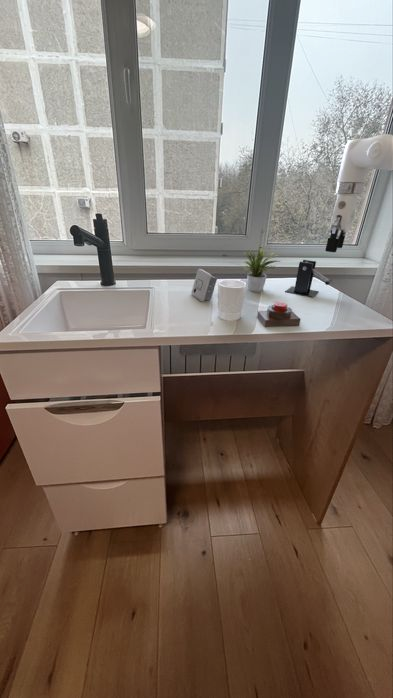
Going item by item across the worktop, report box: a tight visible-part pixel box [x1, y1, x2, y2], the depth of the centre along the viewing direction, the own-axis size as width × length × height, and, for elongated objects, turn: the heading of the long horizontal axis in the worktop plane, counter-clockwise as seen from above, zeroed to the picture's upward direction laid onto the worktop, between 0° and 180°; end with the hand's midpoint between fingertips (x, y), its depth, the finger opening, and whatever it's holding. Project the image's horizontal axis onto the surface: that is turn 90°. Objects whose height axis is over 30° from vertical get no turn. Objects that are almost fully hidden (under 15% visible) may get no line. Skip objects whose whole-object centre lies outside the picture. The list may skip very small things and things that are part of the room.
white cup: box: [217, 279, 247, 322], centre depth 82 cm, size 8×8×10 cm
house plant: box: [243, 245, 281, 292], centre depth 102 cm, size 14×14×16 cm
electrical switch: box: [191, 268, 218, 303], centre depth 98 cm, size 9×5×9 cm, turn 22°
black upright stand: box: [284, 259, 319, 298], centre depth 102 cm, size 10×8×12 cm
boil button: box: [273, 301, 288, 312], centre depth 80 cm, size 4×4×2 cm
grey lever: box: [306, 261, 333, 286], centre depth 99 cm, size 11×5×2 cm, turn 56°
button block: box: [256, 304, 301, 328], centre depth 81 cm, size 10×7×4 cm
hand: (333, 249), depth 94 cm, fingers open, 9 cm apart
